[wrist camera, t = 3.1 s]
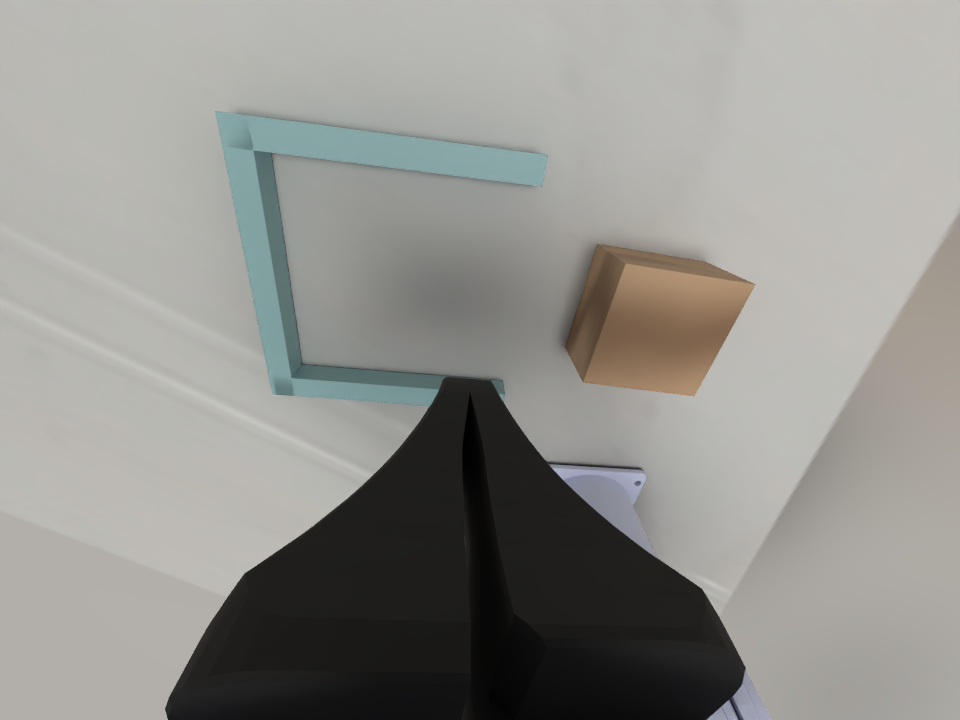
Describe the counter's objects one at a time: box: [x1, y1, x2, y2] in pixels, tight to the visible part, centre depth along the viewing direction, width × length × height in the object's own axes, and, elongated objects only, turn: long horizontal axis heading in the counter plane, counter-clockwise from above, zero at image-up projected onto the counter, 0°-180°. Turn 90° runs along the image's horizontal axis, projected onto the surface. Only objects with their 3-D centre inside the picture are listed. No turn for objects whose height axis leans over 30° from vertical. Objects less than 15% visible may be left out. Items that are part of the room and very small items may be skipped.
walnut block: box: [565, 244, 756, 396], centre depth 19 cm, size 6×6×4 cm
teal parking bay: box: [215, 111, 548, 406], centre depth 18 cm, size 13×13×2 cm
